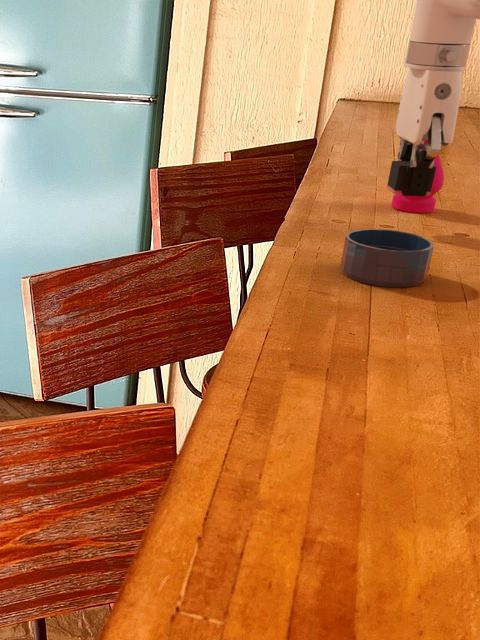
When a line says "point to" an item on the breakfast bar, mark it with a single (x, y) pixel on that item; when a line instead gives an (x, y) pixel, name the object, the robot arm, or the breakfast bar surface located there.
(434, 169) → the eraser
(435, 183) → the pepper mill
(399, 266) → the bowl
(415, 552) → the breakfast bar surface
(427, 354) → the breakfast bar surface
